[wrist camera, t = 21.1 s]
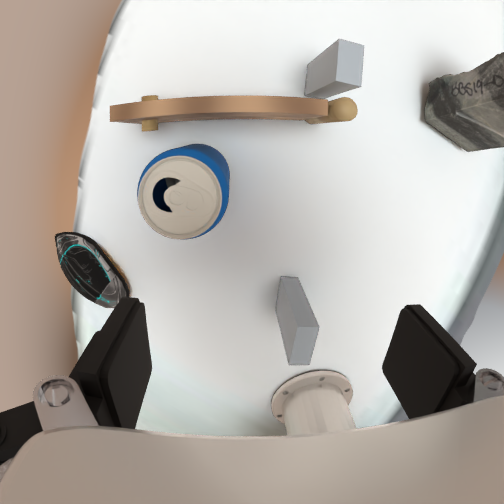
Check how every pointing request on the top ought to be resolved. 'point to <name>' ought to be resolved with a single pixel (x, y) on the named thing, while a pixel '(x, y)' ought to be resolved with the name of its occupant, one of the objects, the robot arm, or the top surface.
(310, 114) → the door
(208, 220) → the beverage can
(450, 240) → the top surface
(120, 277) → the computer mouse
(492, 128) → the stone block
